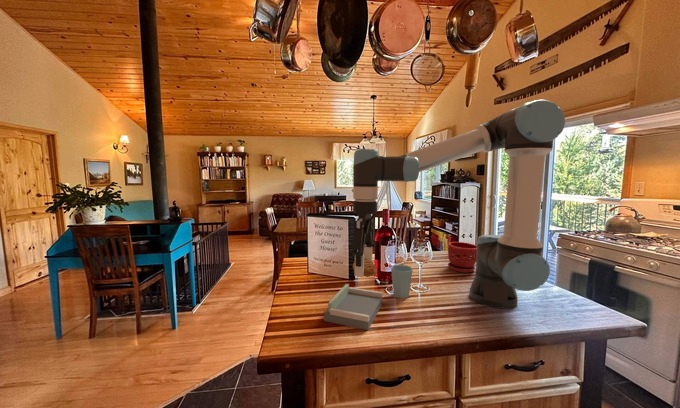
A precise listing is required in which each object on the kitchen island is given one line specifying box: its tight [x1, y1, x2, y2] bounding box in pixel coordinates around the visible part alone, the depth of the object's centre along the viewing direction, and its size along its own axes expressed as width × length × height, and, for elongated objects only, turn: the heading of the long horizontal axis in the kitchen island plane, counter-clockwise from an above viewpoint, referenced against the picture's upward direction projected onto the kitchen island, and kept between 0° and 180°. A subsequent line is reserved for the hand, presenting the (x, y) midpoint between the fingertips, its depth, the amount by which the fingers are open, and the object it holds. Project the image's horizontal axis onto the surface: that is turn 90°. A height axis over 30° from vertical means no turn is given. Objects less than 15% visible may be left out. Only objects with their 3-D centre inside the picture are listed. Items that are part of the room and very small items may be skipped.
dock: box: [323, 283, 384, 331], centre depth 91 cm, size 14×18×6 cm
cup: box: [390, 264, 413, 299], centre depth 103 cm, size 8×8×10 cm
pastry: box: [352, 258, 378, 278], centre depth 88 cm, size 9×7×4 cm
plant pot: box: [447, 241, 477, 273], centre depth 131 cm, size 13×13×12 cm
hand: (363, 270), depth 89 cm, fingers closed on pastry, 9 cm apart
